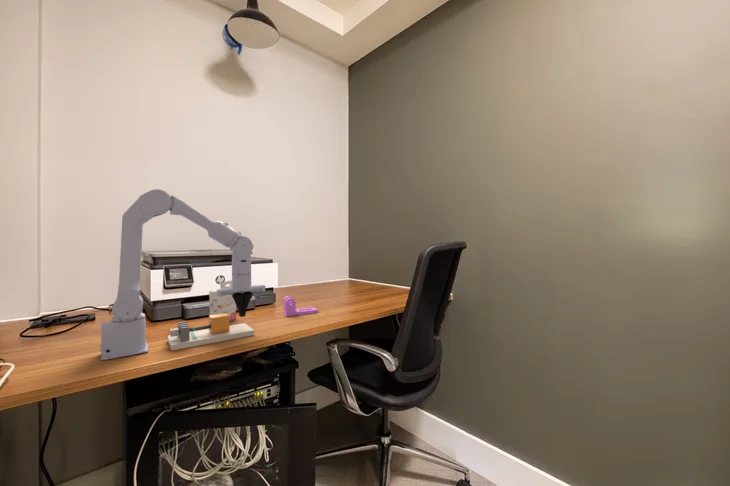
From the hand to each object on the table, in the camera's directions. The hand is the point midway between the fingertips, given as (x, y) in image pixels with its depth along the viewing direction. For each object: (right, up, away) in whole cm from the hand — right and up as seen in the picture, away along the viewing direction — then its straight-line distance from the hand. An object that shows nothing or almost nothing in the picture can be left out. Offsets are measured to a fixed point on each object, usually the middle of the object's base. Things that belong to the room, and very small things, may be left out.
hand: (242, 316), depth 99 cm
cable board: (-7, -5, -5) cm, 10 cm away
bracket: (+14, -5, +25) cm, 29 cm away
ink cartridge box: (-12, -5, +13) cm, 19 cm away
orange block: (-5, -4, -4) cm, 8 cm away
